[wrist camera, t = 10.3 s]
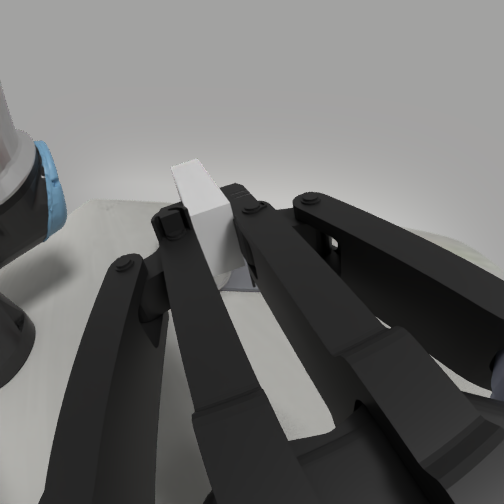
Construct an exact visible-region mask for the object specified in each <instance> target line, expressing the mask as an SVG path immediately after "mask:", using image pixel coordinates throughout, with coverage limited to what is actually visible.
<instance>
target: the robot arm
mask: <svg viewBox="0 0 504 504" xmlns="http://www.w3.org/2000/svg"><path fill="white" fill-rule="evenodd" d="M171 171H172V174H173V177H174V180H175V184H176V187H177V190H178V193H179V196H180V200H181V202H179V203H175V204H173V205H170V206H167V207H164V208H161V209H160V211H159V212H158V213H157V214H155V215H154V216H153V217H152V219H151V223H152V226H153V228H154V231H155V234H156V236H157V239H158V241H159V248H158V250H157V251H156V252H154V253H153V254H152V255H150V256H149V257H147V258H145V259H144V260H143V258H142V257H141V256H140V255H139V254H135V253H134V254H128V255H124V256H121V257H120V258H118V259H116V261H114V262H113V263H112V264H111V265H110V267H109V268H108V271H107V273H106V275H105V278H104V280H103V283H102V285H101V288H100V290H99V293H98V295H97V298H96V300H95V303H94V306H93V308H92V311H91V314H90V317H89V319H88V322H87V325H86V328H85V331H84V333H83V336H82V339H81V342H80V345H79V348H78V351H77V354H76V358H75V361H74V364H73V367H72V370H71V374H70V377H69V381H68V384H67V388H66V391H65V395H64V399H63V402H62V406H61V410H60V414H59V418H58V422H57V427H56V431H55V435H54V440H53V445H52V450H51V455H50V460H49V465H48V471H47V477H46V483H45V490H44V493H43V495H42V497H41V499H40V501H39V503H38V504H155V472H156V449H157V432H158V418H159V405H160V393H161V382H162V372H163V363H164V354H165V345H166V336H167V328H168V321H169V314H168V310H169V309H171V312H172V317H173V322H174V326H175V331H176V335H177V340H178V344H179V349H180V353H181V357H182V361H183V365H184V369H185V373H186V377H187V381H188V385H189V389H190V393H191V397H192V400H193V404H194V409H195V412H194V413H193V414H192V423H193V428H194V431H195V435H196V439H197V442H198V445H199V449H200V452H201V455H202V459H203V462H204V465H205V468H206V472H207V475H208V478H209V481H210V484H211V487H212V491H211V492H210V493H209V494H208V496H207V497H206V499H205V501H204V502H203V504H504V281H503V280H501V279H500V278H498V277H496V276H494V275H493V274H491V273H489V272H487V271H485V270H484V269H482V268H480V267H478V266H476V265H474V264H473V263H471V262H469V261H467V260H465V259H463V258H461V257H459V256H457V255H455V254H454V253H452V252H450V251H448V250H446V249H444V248H442V247H440V246H438V245H436V244H434V243H432V242H430V241H428V240H426V239H424V238H422V237H420V236H418V235H415V234H413V233H411V232H409V231H407V230H405V229H403V228H401V227H399V226H396V225H394V224H392V223H390V222H388V221H386V220H383V219H381V218H379V217H376V216H374V215H372V214H370V213H368V212H365V211H363V210H361V209H358V208H356V207H354V206H351V205H349V204H347V203H344V202H342V201H340V200H337V199H335V198H332V197H330V196H328V195H325V194H322V193H317V192H308V193H307V192H306V193H304V194H301V195H298V196H297V197H295V199H294V200H293V208H288V209H281V210H275V209H274V208H273V207H272V206H271V205H270V204H269V203H267V202H264V201H257V200H256V199H255V198H254V197H253V196H252V195H251V194H250V192H249V191H247V189H246V188H245V187H244V186H243V185H240V184H236V183H234V184H231V185H227V186H224V187H221V188H219V187H218V186H217V184H216V183H215V182H214V180H213V179H212V178H211V176H210V175H209V173H208V172H207V171H206V169H205V168H204V166H203V165H202V164H201V162H200V161H199V160H198V159H194V160H191V161H187V162H184V163H182V164H178V165H175V166H172V167H171ZM66 219H67V209H66V203H65V199H64V195H63V191H62V187H61V184H60V182H59V179H58V174H57V170H56V167H55V164H54V161H53V158H52V156H51V153H50V151H49V149H48V147H47V145H46V143H45V142H43V141H33V139H32V138H31V137H30V135H29V134H27V133H26V132H24V131H22V130H17V129H15V128H14V125H13V122H12V119H11V116H10V112H9V109H8V106H7V103H6V100H5V96H4V93H3V89H2V86H1V82H0V269H1V268H2V267H4V266H5V265H7V264H8V263H10V262H11V261H13V260H15V259H16V258H18V257H19V256H21V255H22V254H24V253H26V252H27V251H29V250H30V249H32V248H34V247H35V246H37V245H38V244H40V243H42V242H45V241H46V240H47V239H48V238H49V236H51V235H52V234H54V233H55V232H57V231H58V230H60V229H61V228H62V227H63V226H64V224H65V222H66ZM332 238H334V239H335V240H336V241H337V242H338V247H335V246H333V245H332ZM243 256H244V257H243ZM244 258H245V260H246V261H247V265H248V269H249V273H250V277H251V281H252V286H253V288H254V287H256V285H257V287H258V289H259V290H260V292H261V294H262V296H263V297H264V299H265V301H266V302H267V304H268V306H269V308H270V309H271V311H272V313H273V315H274V316H275V318H276V320H277V322H278V323H279V325H280V327H281V328H282V330H283V332H284V334H285V335H286V337H287V339H288V340H289V342H290V344H291V346H292V347H293V349H294V351H295V352H296V354H297V356H298V358H299V359H300V361H301V363H302V364H303V366H304V368H305V370H306V371H307V373H308V375H309V376H310V378H311V380H312V381H313V383H314V385H315V387H316V388H317V390H318V392H319V393H320V395H321V397H322V398H323V400H324V402H325V404H326V405H327V407H328V409H329V411H330V413H331V415H332V418H333V421H334V424H335V427H336V428H335V429H333V430H332V431H331V432H329V433H326V434H322V435H317V436H312V437H307V438H302V439H296V440H291V441H288V440H287V437H286V435H285V433H284V431H283V429H282V427H281V425H280V423H279V421H278V419H277V417H276V415H275V413H274V410H273V408H272V406H271V404H270V402H269V400H268V398H267V396H266V394H265V392H264V390H263V389H262V388H261V386H260V384H259V382H258V380H257V378H256V376H255V373H254V371H253V369H252V367H251V364H250V362H249V360H248V358H247V355H246V353H245V351H244V349H243V346H242V344H241V342H240V339H239V337H238V335H237V333H236V330H235V328H234V326H233V323H232V321H231V319H230V316H229V314H228V311H227V309H226V307H225V304H224V302H223V300H222V297H221V295H220V292H219V290H218V288H217V285H216V283H215V280H214V278H213V277H215V276H218V275H221V274H224V273H226V272H229V271H232V270H235V269H238V268H240V267H243V266H246V265H245V261H244ZM255 283H256V285H255ZM375 316H376V317H377V318H379V319H380V320H381V321H383V322H384V323H386V324H387V325H389V326H390V327H391V328H390V329H389V328H386V327H385V326H384V325H382V323H381V322H380V321H379V320H378V319H377V318H376V317H375ZM34 338H35V327H34V324H33V323H32V321H31V320H30V318H29V317H28V316H27V314H26V313H25V312H24V311H23V310H22V309H21V308H19V307H18V306H17V305H15V304H14V303H13V302H12V301H10V300H9V299H8V298H6V297H5V296H4V295H3V294H1V293H0V387H2V386H3V385H4V384H6V383H7V382H8V381H9V380H10V379H11V378H12V377H13V376H14V375H15V374H16V373H17V372H18V370H19V369H20V368H21V366H22V365H23V364H24V362H25V360H26V359H27V357H28V355H29V353H30V351H31V348H32V346H33V343H34ZM429 354H430V355H431V356H432V357H434V358H435V359H437V360H438V361H439V362H441V363H442V364H444V365H445V366H446V367H448V368H449V369H451V370H452V371H453V372H455V373H456V374H458V375H459V376H461V377H463V378H464V379H466V380H467V381H469V382H471V383H473V384H475V385H477V386H479V387H482V388H484V389H487V390H490V391H492V394H491V396H490V398H487V397H483V396H479V395H475V394H471V393H467V392H463V391H460V389H459V388H458V387H457V386H456V385H455V384H454V382H453V381H452V380H451V379H450V378H449V377H448V375H447V374H446V373H445V372H444V371H443V370H442V368H441V367H440V366H439V365H438V364H437V363H436V362H435V360H434V359H433V358H432V357H431V356H430V355H429Z"/></svg>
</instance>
